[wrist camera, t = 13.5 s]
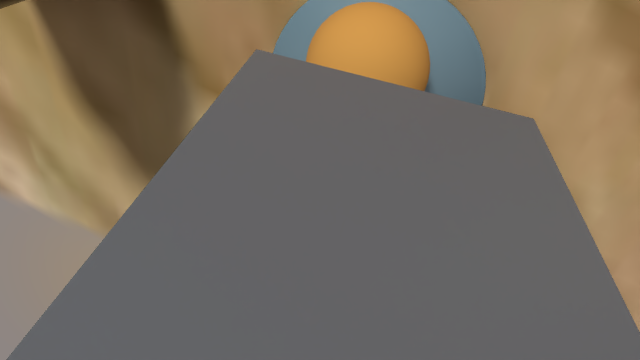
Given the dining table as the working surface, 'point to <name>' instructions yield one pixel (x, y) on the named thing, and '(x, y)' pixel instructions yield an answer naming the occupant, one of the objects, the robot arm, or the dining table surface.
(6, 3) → the supplement bottle
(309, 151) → the rectangular block
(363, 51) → the ball
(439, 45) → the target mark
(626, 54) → the dining table surface
